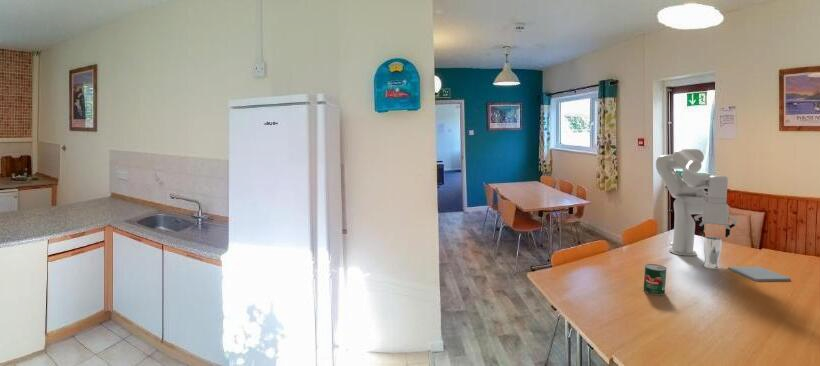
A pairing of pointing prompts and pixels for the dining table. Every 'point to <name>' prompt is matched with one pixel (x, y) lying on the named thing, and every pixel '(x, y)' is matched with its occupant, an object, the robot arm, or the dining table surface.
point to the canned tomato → (655, 279)
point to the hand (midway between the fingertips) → (714, 235)
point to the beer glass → (712, 251)
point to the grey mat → (759, 274)
